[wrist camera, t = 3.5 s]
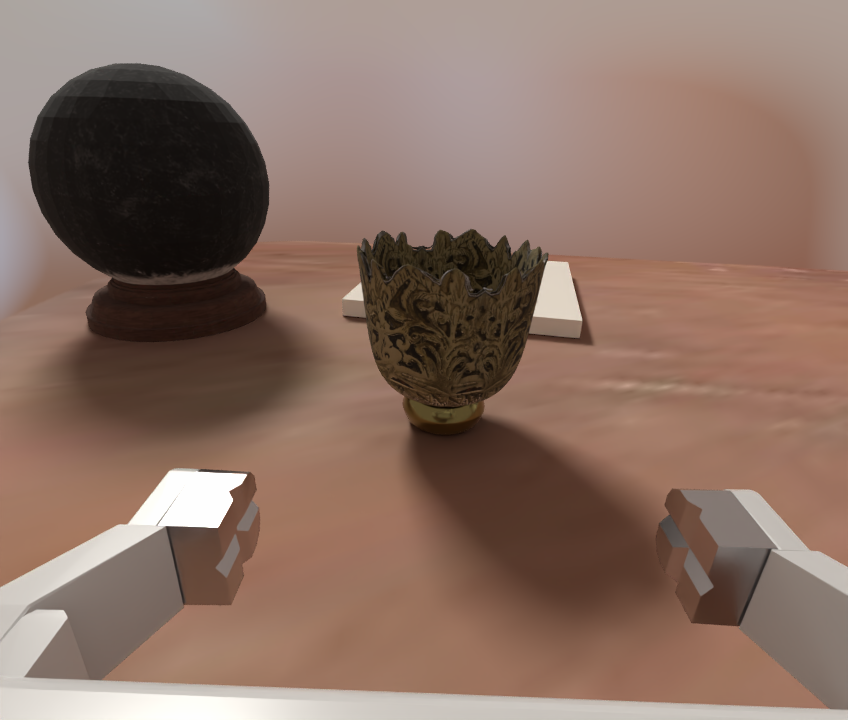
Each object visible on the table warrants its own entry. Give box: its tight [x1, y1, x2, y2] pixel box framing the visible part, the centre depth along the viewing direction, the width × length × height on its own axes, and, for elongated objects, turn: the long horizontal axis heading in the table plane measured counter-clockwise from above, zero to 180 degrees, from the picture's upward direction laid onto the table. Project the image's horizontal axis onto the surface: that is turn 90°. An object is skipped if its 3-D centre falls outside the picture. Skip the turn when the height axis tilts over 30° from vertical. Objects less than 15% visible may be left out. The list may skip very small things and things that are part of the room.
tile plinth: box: [342, 261, 582, 338], centre depth 41 cm, size 16×16×2 cm
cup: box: [357, 229, 548, 435], centre depth 22 cm, size 8×7×8 cm
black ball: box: [28, 64, 269, 342], centre depth 33 cm, size 13×13×15 cm
